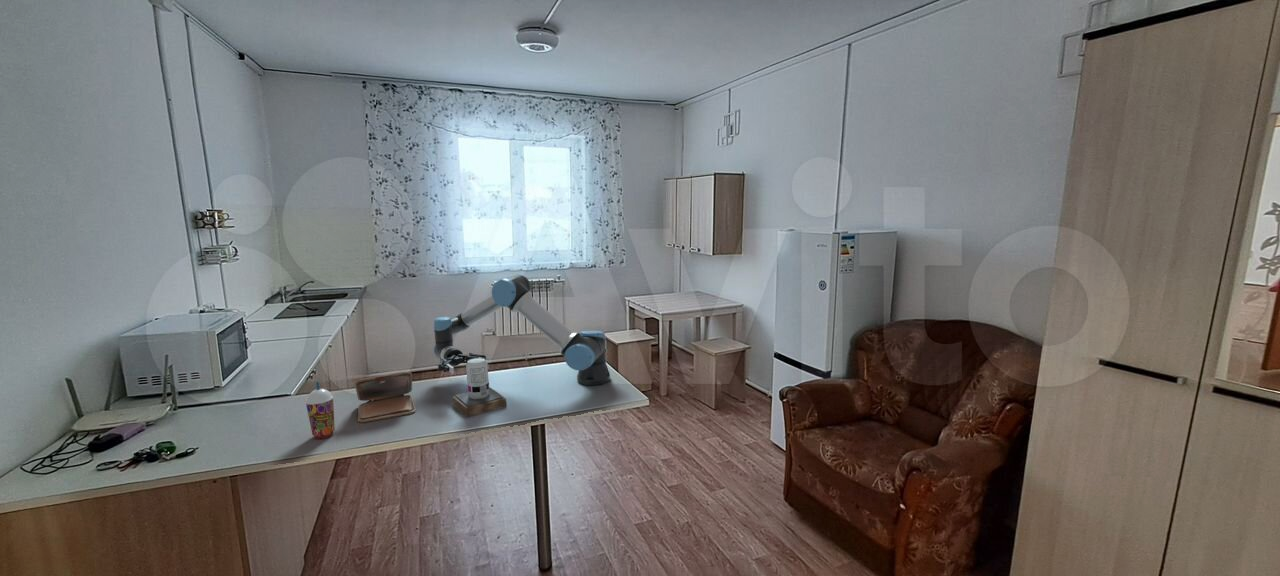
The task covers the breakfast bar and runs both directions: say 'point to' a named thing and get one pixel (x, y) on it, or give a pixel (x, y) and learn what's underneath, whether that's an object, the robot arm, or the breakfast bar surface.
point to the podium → (479, 403)
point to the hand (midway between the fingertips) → (469, 367)
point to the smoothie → (321, 412)
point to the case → (385, 396)
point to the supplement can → (477, 378)
